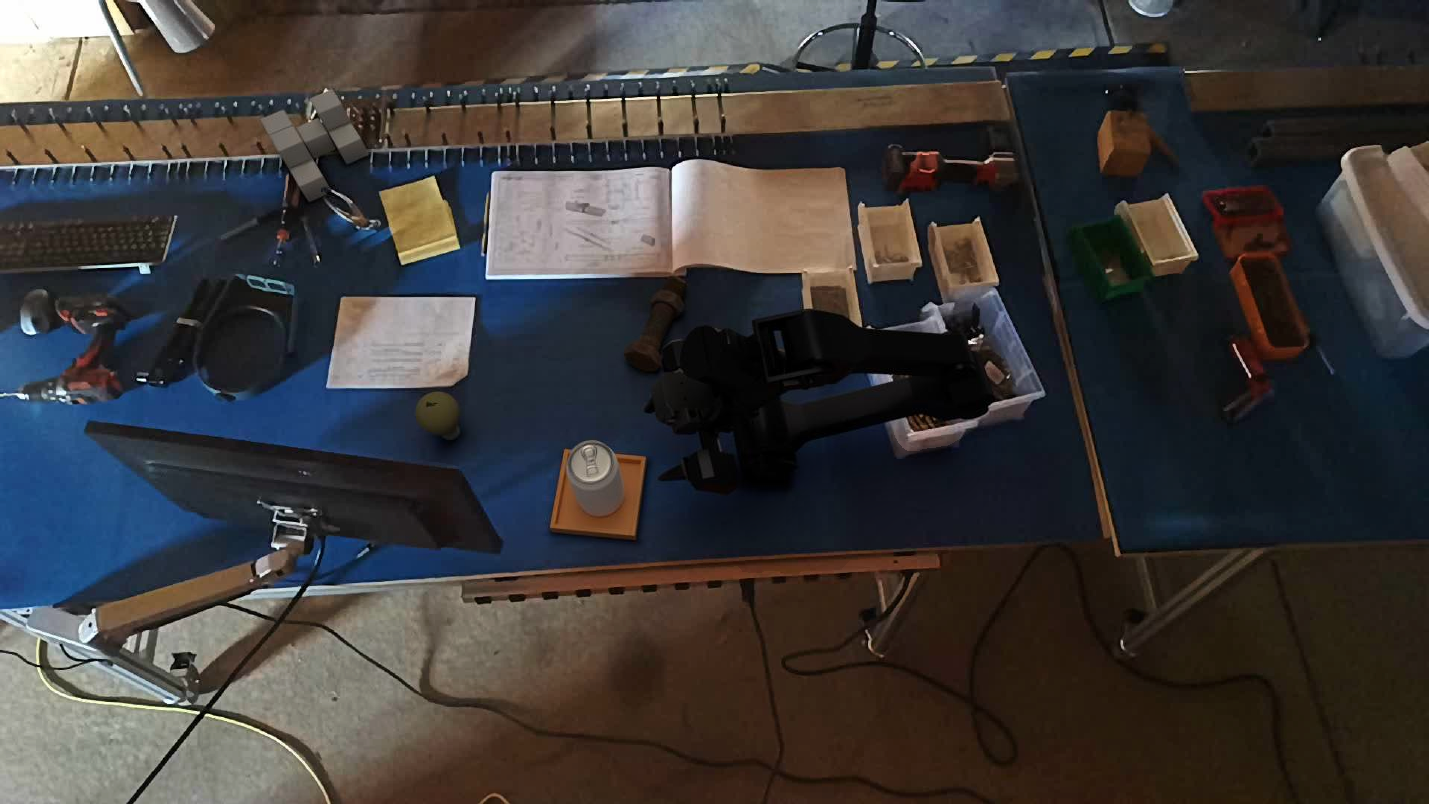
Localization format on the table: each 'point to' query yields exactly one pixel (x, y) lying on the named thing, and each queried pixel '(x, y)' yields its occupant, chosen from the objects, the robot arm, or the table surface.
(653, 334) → the bolt
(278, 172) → the table surface
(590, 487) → the can
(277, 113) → the gray h shaped block
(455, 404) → the light bulb
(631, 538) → the tray
